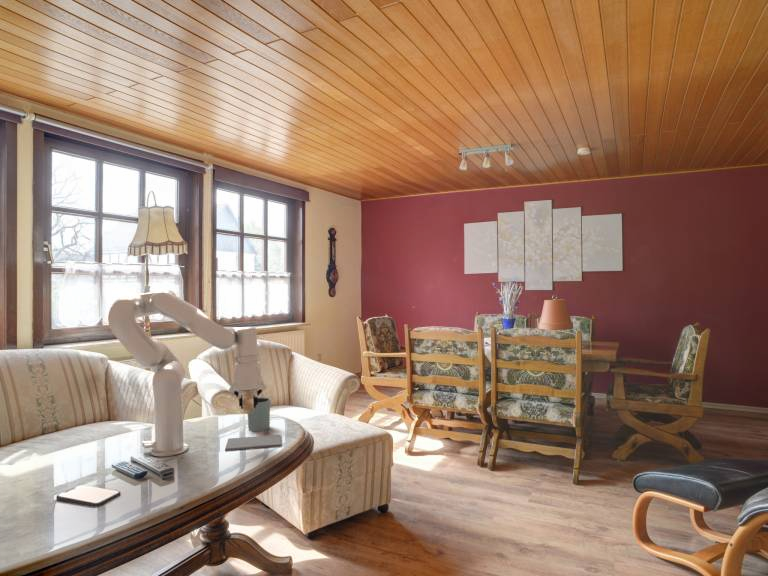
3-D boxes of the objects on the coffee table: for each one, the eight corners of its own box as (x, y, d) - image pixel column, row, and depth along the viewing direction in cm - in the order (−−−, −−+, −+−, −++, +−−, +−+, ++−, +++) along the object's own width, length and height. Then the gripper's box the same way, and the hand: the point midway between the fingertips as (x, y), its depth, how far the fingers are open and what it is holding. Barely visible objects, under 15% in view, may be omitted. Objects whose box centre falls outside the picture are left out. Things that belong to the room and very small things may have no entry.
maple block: (242, 413, 187) (241, 387, 187) (243, 410, 191) (242, 384, 190) (253, 412, 188) (253, 386, 187) (254, 410, 191) (253, 384, 191)
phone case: (122, 496, 146) (81, 489, 151) (122, 491, 146) (81, 483, 151) (96, 510, 137) (53, 501, 142) (96, 504, 137) (53, 496, 142)
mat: (225, 450, 182) (225, 448, 182) (228, 440, 194) (228, 438, 193) (281, 446, 186) (281, 444, 186) (280, 436, 198) (280, 434, 198)
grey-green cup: (253, 433, 202) (253, 404, 202) (242, 428, 210) (241, 399, 210) (275, 428, 209) (275, 399, 209) (263, 423, 217) (263, 395, 216)
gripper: (223, 362, 183) (224, 411, 184) (269, 359, 187) (270, 408, 187) (225, 359, 191) (226, 406, 191) (269, 356, 194) (271, 403, 195)
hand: (248, 407), depth 189 cm, fingers closed on maple block, 4 cm apart
